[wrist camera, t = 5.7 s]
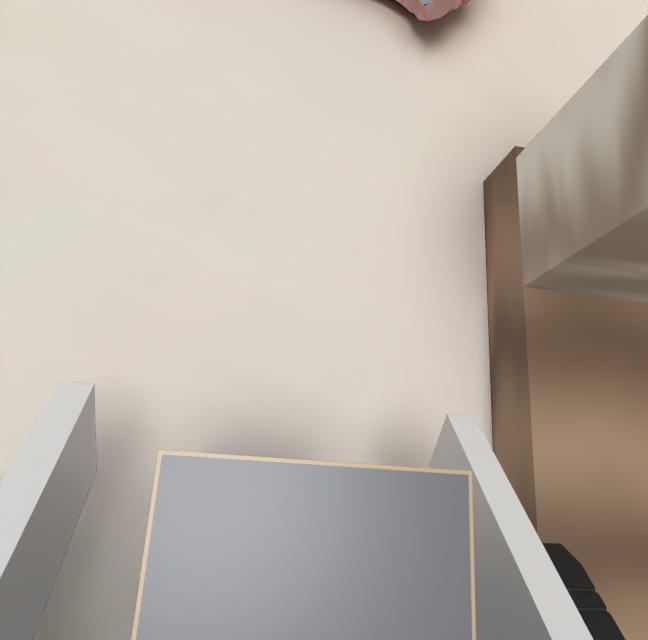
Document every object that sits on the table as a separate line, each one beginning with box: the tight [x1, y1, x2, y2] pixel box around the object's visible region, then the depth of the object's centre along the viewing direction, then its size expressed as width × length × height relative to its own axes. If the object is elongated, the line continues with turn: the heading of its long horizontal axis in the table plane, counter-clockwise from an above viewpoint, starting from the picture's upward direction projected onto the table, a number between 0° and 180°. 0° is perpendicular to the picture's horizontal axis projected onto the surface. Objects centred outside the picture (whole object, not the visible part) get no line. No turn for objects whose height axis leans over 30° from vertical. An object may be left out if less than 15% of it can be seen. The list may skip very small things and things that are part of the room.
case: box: [131, 450, 476, 640], centre depth 11 cm, size 5×4×11 cm
